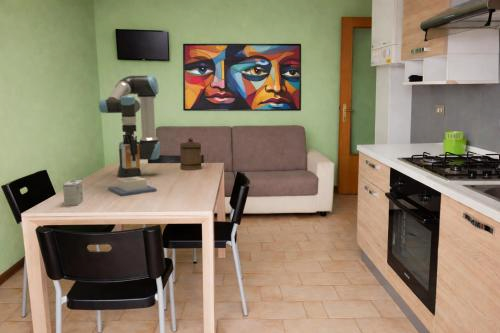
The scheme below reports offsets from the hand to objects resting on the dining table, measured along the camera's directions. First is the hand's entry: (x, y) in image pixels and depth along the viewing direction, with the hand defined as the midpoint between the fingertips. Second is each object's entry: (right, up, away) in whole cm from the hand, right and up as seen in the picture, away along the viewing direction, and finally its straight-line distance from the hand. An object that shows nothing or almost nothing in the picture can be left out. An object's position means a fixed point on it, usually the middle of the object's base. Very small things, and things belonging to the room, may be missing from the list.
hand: (131, 165), depth 264 cm
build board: (0, -14, +2) cm, 14 cm away
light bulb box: (-22, -19, -26) cm, 39 cm away
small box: (0, -1, 0) cm, 1 cm away
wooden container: (+24, -2, +77) cm, 80 cm away
